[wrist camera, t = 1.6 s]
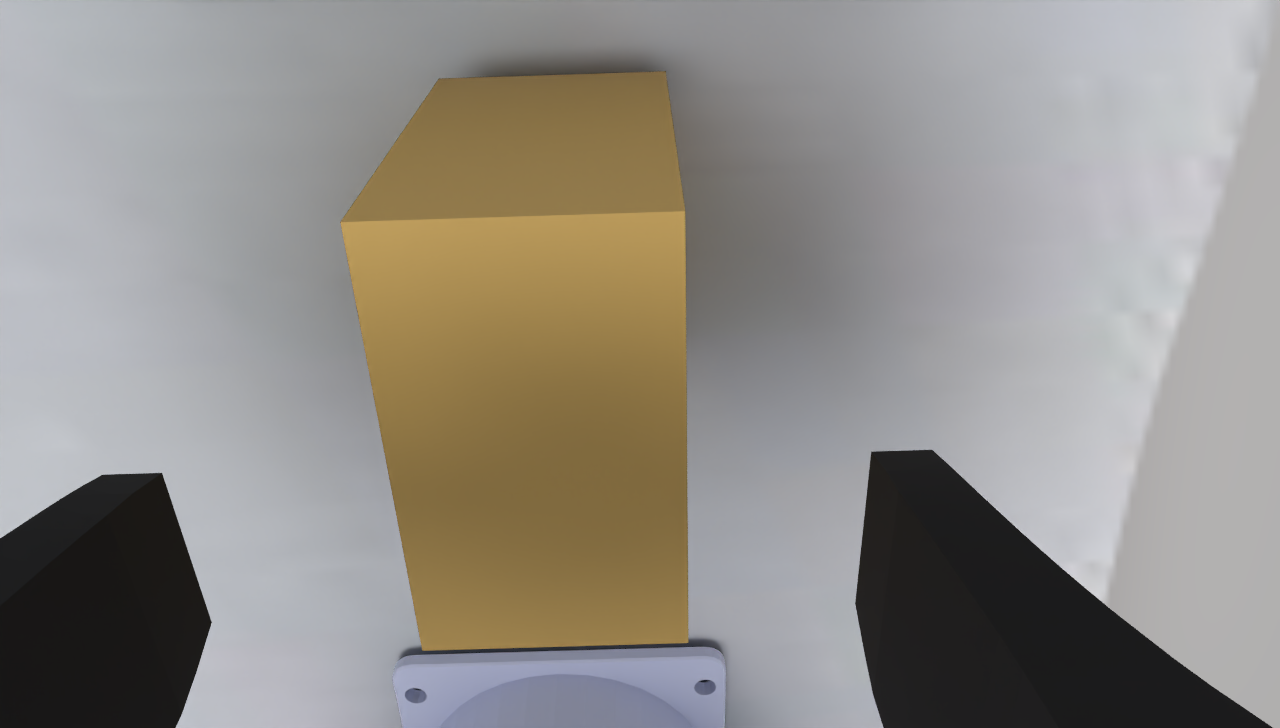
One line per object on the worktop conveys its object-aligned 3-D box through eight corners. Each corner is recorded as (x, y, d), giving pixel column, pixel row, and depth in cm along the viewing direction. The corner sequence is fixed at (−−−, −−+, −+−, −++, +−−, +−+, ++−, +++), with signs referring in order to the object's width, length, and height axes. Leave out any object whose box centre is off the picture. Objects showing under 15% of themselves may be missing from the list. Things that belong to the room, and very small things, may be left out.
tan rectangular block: (667, 349, 20) (688, 643, 13) (494, 355, 20) (422, 650, 13) (661, 43, 17) (685, 210, 10) (458, 50, 17) (340, 222, 10)
